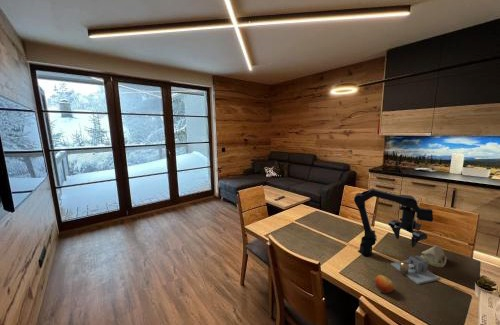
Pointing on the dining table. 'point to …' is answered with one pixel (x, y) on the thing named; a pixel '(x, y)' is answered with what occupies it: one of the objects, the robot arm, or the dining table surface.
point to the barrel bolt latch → (418, 270)
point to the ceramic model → (435, 256)
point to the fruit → (384, 284)
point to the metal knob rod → (406, 266)
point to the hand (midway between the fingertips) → (405, 243)
